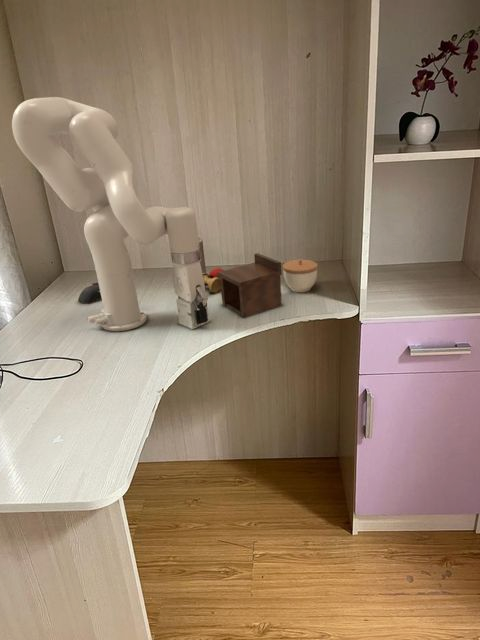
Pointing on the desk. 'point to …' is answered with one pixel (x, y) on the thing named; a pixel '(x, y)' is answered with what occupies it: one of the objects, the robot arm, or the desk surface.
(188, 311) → the white cardboard box
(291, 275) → the trinket box
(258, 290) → the shelf
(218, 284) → the kendama
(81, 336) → the desk surface
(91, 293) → the computer mouse
